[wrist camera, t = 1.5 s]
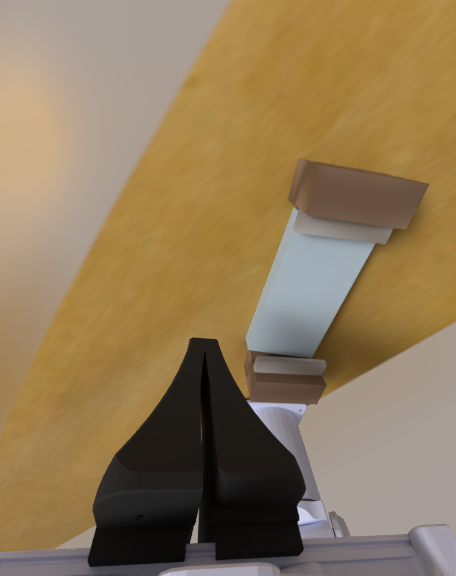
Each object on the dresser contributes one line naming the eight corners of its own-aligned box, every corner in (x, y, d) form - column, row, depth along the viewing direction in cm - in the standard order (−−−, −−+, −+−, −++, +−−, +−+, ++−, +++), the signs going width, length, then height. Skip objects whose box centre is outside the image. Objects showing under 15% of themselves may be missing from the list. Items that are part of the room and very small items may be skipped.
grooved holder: (302, 369, 26) (316, 404, 23) (244, 365, 26) (250, 402, 22) (384, 173, 17) (429, 184, 14) (298, 158, 16) (323, 165, 13)
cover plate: (304, 343, 25) (311, 358, 24) (244, 334, 24) (248, 349, 22) (365, 224, 20) (381, 232, 18) (291, 205, 18) (300, 212, 17)
